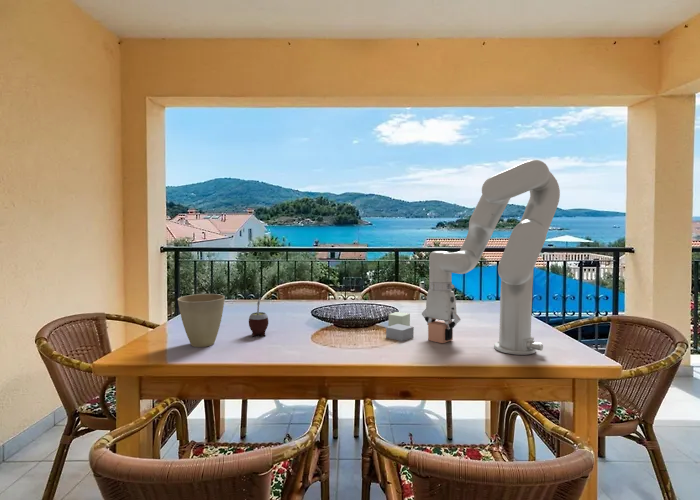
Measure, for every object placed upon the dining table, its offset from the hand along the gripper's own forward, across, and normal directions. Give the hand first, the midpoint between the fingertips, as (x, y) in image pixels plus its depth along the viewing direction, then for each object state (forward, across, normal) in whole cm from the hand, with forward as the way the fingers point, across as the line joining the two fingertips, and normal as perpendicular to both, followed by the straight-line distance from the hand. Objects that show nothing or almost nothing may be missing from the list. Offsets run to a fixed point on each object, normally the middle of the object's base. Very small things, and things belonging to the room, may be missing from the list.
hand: (440, 337), depth 150 cm
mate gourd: (0, +48, +43) cm, 65 cm away
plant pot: (0, +52, +63) cm, 81 cm away
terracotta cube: (+1, 0, 0) cm, 1 cm away
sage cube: (+1, +20, -2) cm, 20 cm away
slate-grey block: (+1, +12, +7) cm, 14 cm away
